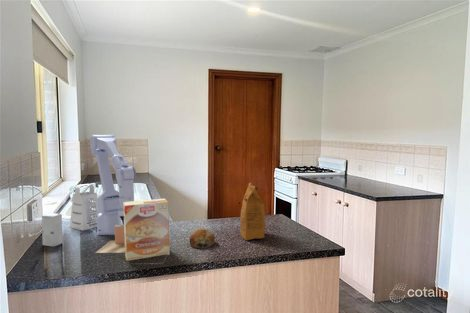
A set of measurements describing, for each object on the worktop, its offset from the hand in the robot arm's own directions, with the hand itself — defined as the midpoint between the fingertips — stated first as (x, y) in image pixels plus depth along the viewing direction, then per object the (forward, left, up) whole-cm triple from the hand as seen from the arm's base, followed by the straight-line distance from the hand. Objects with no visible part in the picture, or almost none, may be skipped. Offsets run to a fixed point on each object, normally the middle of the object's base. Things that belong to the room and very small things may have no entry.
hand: (127, 229), depth 133 cm
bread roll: (+31, -5, -5) cm, 32 cm away
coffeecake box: (+13, -16, -5) cm, 21 cm away
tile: (0, -4, -4) cm, 6 cm away
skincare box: (-29, -4, -5) cm, 30 cm away
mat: (0, -8, -5) cm, 9 cm away
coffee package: (+51, +4, -5) cm, 51 cm away
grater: (-28, +22, -5) cm, 36 cm away
